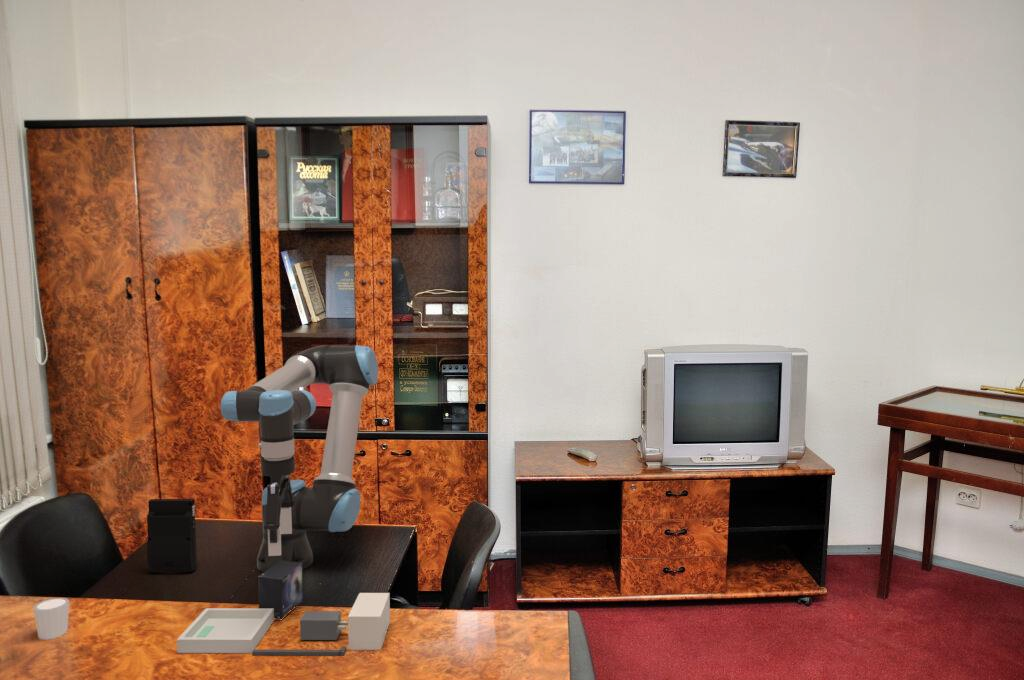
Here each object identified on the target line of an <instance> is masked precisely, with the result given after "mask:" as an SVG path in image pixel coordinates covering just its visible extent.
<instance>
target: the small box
mask: <svg viewBox="0 0 1024 680" xmlns="http://www.w3.org/2000/svg"><path fill="white" fill-rule="evenodd" d="M257 577H258V608H274V618H276V619H282V618H283V617H284V616H285V615H286V614H287V613H288V612H289V611H290V610H292V609H293V608H294V607H296V606H298V607H299V606H300V605H301V604H303V569H302V563H299V562H290V561H283V560H280V561H279V562H277V563H276V564H275V565H273V566H272V567H270V568H269V569H268V570H266V571H265V572H261V574H259V575H258V576H257ZM296 608H297V607H296Z"/></svg>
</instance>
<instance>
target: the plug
mask: <svg viewBox="0 0 1024 680" xmlns="http://www.w3.org/2000/svg"><path fill="white" fill-rule="evenodd" d="M299 626H300V627H299V631H300V633H299V634H300V641H305V640H306V641H337V640H338V639H339V636H340V635H341V632H342V631H346V630H347V626H348V620H345V621H344V620H343V621H342V611H341V610H339V611H337V610H336V611H335V610H334V611H333V610H331V611H329V610H326V611H325V610H320V611H319V610H318V611H316V610H314V611H313V610H311V611H310V610H309V611H308V610H305V612H304V613H303V615H302V616H301V618H300V620H299Z"/></svg>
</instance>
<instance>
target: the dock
mask: <svg viewBox="0 0 1024 680" xmlns="http://www.w3.org/2000/svg"><path fill="white" fill-rule="evenodd" d="M273 620H274V608H259V607H258V608H256V607H255V608H254V607H252V608H251V607H250V608H249V607H248V608H246V607H244V608H242V607H241V608H238V607H236V608H235V607H234V608H233V607H231V608H228V607H227V608H226V607H225V608H224V607H223V608H222V607H219V608H218V607H215V608H214V607H213V608H212V607H211V608H210V607H205V608H204V610H202V612H200V614H199V615H198V616H197V617H196V619H194V620H193V622H192V623H191V624H190V625H189V626H188V627H187V628H186V629H185V630H184V631H183V632H182V633H181V634H180V635H179V637H178V638H177V639H176V653H177V654H252V652H253V650H256V648H257V646H258V645H259V644H260V642H261V641H262V639H263V638H264V637H265V635H266V633H267V632H268V631H269V629H270V628H271V626H272V625H273V623H274V622H273ZM274 621H275V620H274ZM272 622H273V623H272ZM271 624H272V625H271ZM270 625H271V626H270ZM269 627H270V628H269Z"/></svg>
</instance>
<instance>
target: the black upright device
mask: <svg viewBox="0 0 1024 680" xmlns="http://www.w3.org/2000/svg"><path fill="white" fill-rule="evenodd" d="M195 502H196V501H195V498H152V499H149V500H148V501H147V503H148V505H147V506H148V514H147V515H146V523H147V524H146V525H147V526H146V527H147V543H146V544H147V545H146V558H147V559H146V560H147V566H148V570H149V571H150V572H151V573H155V574H168V575H175V574H186V573H187V574H188V573H191V572H194V571H196V570H197V568H198V566H197V536H196V531H197V530H196V510H195V509H196V508H195Z"/></svg>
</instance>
